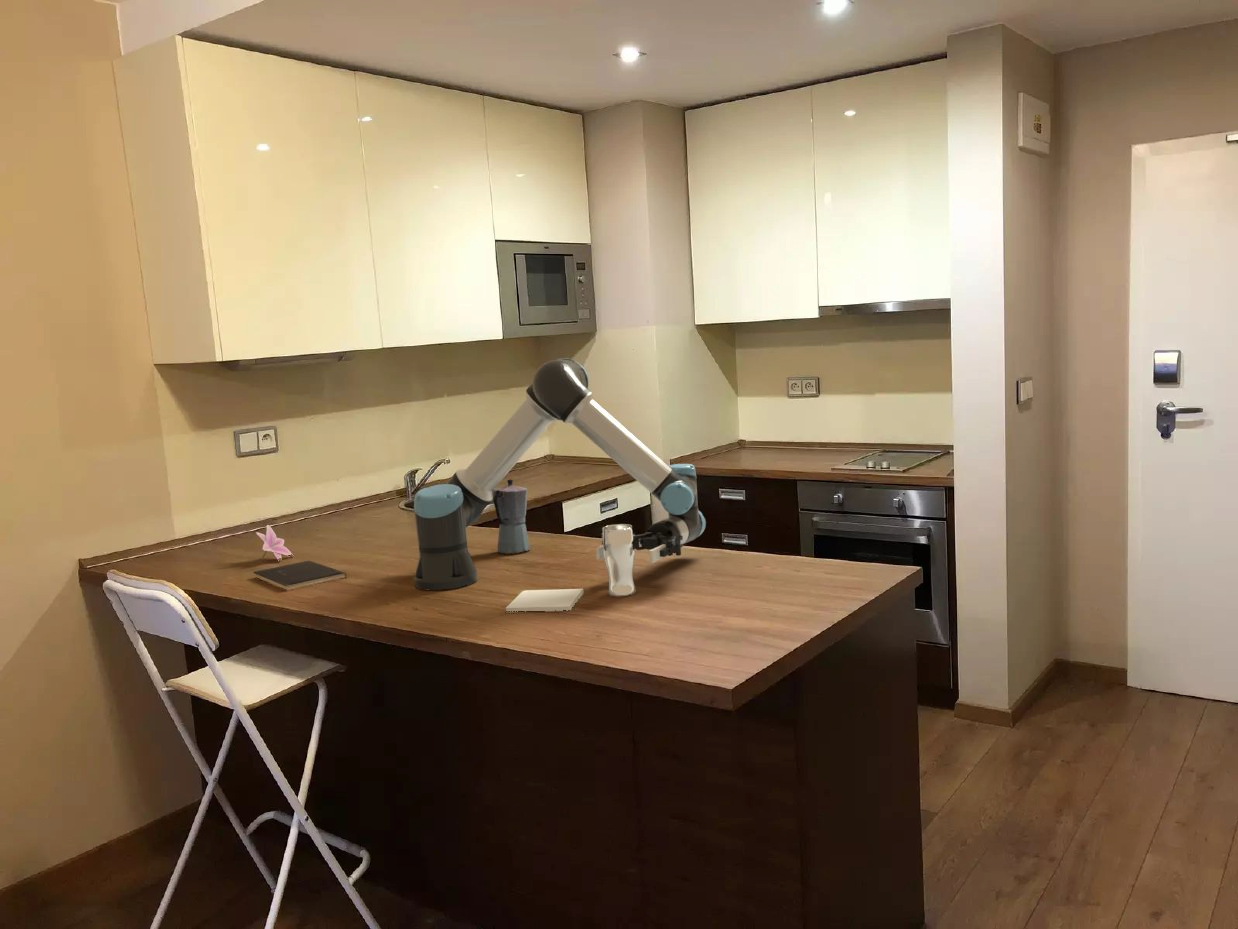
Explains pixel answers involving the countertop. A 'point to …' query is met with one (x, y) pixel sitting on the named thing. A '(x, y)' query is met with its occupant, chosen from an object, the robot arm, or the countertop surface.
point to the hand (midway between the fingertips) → (624, 555)
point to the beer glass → (619, 559)
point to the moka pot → (511, 518)
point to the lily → (273, 543)
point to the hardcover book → (299, 574)
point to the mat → (545, 600)
